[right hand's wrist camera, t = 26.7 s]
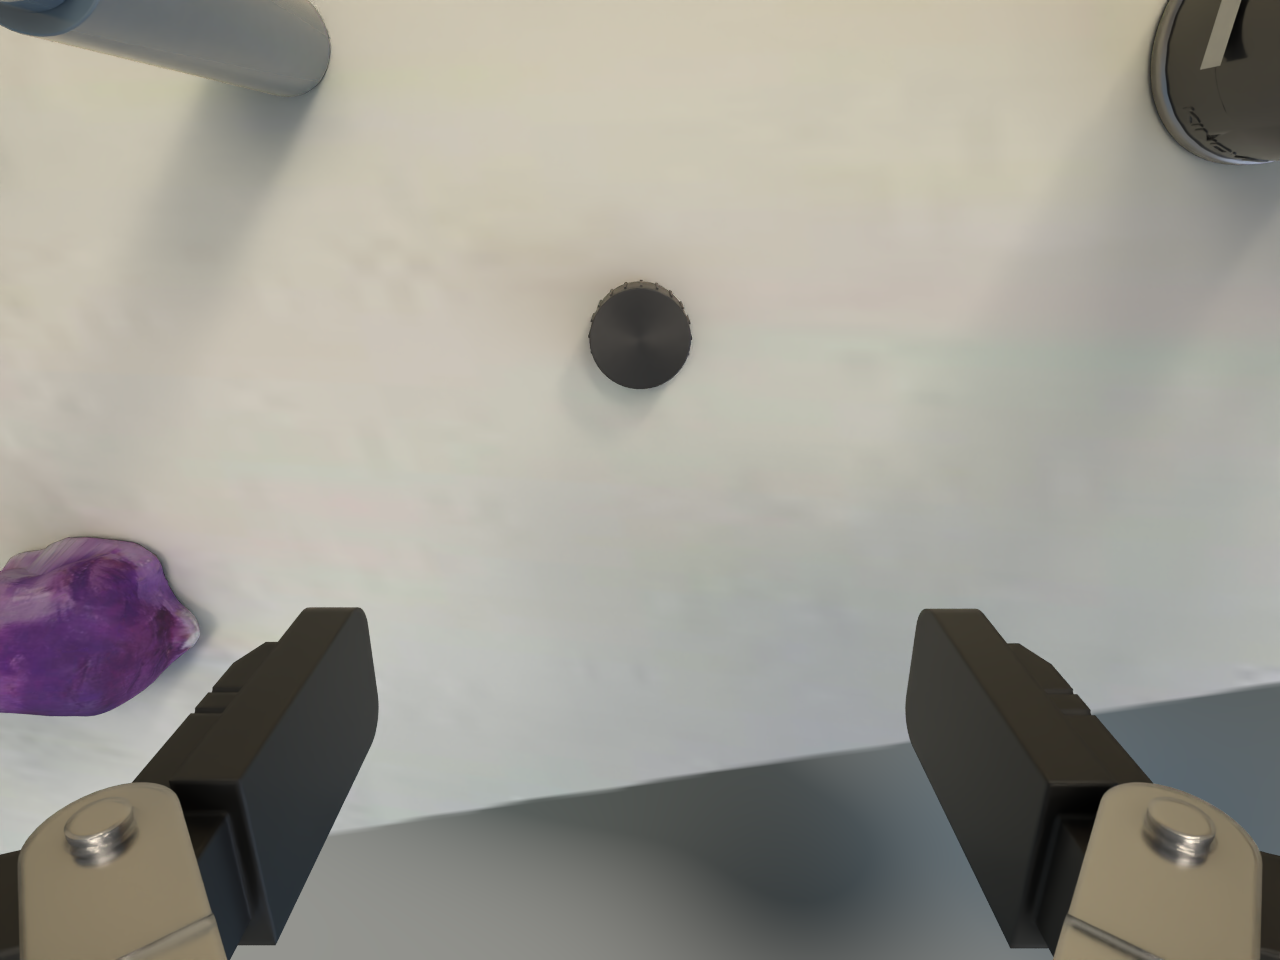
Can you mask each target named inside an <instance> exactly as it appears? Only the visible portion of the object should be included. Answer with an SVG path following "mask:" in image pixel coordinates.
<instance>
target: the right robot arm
mask: <svg viewBox="0 0 1280 960" xmlns="http://www.w3.org/2000/svg"><path fill="white" fill-rule="evenodd" d="M1151 84H1152V92H1153V97H1154V102H1155V105H1156V108H1157V111H1158V113H1159V116H1160V118H1161V120H1162V122H1163V124H1164V125H1165V127H1166V129H1167V130H1168V131H1169V133H1170V134H1171V135H1172V137H1173V138H1174V139H1175V140H1176V141H1177V142H1178V143H1179V144H1180V145H1181V146H1183V147H1184V148H1185V149H1187V150H1188V151H1189V152H1191V153H1193V154H1195V155H1196V156H1198V157H1201V158H1203V159H1205V160H1209V161H1212V162H1216V163H1222V164H1232V165H1240V164H1261V163H1268V162H1273V161H1280V0H1169V2H1168V4H1167V6H1166V8H1165V11H1164V13H1163V15H1162V17H1161V20H1160V23H1159V26H1158V29H1157V33H1156V36H1155V40H1154V45H1153V51H1152V59H1151ZM905 709H906V723H907V729H908V734H909V738H910V741H911V743H912V746H913V748H914V750H915V752H916V754H917V756H918V758H919V760H920V762H921V765H922V767H923V769H924V771H925V773H926V775H927V777H928V779H929V781H930V783H931V785H932V787H933V789H934V791H935V793H936V795H937V797H938V800H939V802H940V804H941V806H942V808H943V810H944V812H945V814H946V816H947V818H948V820H949V822H950V824H951V826H952V829H953V831H954V833H955V835H956V837H957V839H958V841H959V843H960V845H961V847H962V849H963V851H964V853H965V855H966V857H967V860H968V862H969V864H970V866H971V868H972V870H973V872H974V874H975V876H976V878H977V880H978V882H979V884H980V886H981V888H982V891H983V893H984V895H985V897H986V899H987V901H988V903H989V905H990V907H991V909H992V911H993V913H994V915H995V917H996V919H997V921H998V923H999V926H1000V928H1001V930H1002V932H1003V934H1004V936H1005V938H1006V940H1007V942H1008V944H1009V946H1010V948H1049V950H1050V951H1051V953H1052V955H1053V960H1280V856H1278V855H1273V854H1269V853H1265V852H1262V851H1259V849H1258V847H1257V845H1256V844H1255V842H1254V841H1253V839H1252V838H1251V836H1250V835H1249V834H1248V833H1247V832H1246V831H1245V830H1244V828H1242V827H1241V826H1240V825H1239V824H1238V823H1237V822H1236V821H1235V820H1233V819H1232V818H1231V817H1230V816H1228V815H1227V814H1225V813H1224V812H1223V811H1221V810H1220V809H1218V808H1216V807H1215V806H1213V805H1211V804H1210V803H1208V802H1206V801H1204V800H1202V799H1200V798H1198V797H1196V796H1193V795H1191V794H1188V793H1186V792H1184V791H1181V790H1177V789H1174V788H1171V787H1167V786H1163V785H1159V784H1153V783H1152V781H1151V780H1150V779H1149V778H1148V777H1147V775H1146V774H1145V773H1144V772H1143V771H1142V770H1141V769H1140V767H1139V766H1138V765H1137V764H1136V763H1135V761H1134V760H1133V759H1132V758H1131V757H1130V756H1129V754H1128V753H1127V752H1126V751H1125V750H1124V749H1123V747H1122V746H1121V745H1120V744H1119V743H1118V742H1117V740H1116V739H1115V738H1114V737H1113V736H1112V735H1111V733H1110V732H1109V731H1108V730H1107V729H1106V728H1105V726H1104V725H1103V724H1102V723H1101V722H1100V721H1099V719H1098V718H1097V717H1096V716H1095V715H1091V713H1090V709H1089V708H1088V706H1087V705H1086V704H1085V703H1084V702H1083V701H1082V699H1081V698H1080V697H1079V696H1078V695H1077V694H1073V689H1072V688H1071V687H1070V685H1069V684H1068V683H1067V682H1066V681H1065V680H1064V678H1063V677H1062V676H1061V675H1060V674H1059V673H1058V671H1057V670H1056V669H1055V668H1054V667H1053V666H1052V664H1050V663H1048V662H1047V661H1045V660H1044V659H1042V658H1041V657H1039V656H1038V655H1036V654H1034V653H1033V652H1031V651H1030V650H1028V649H1027V648H1025V647H1024V646H1022V645H1020V644H1019V643H1006V641H1005V640H1004V639H1003V638H1002V636H1001V635H1000V634H999V633H998V631H997V630H996V629H995V628H994V626H993V625H992V624H991V623H990V621H989V620H988V619H987V618H986V616H985V615H984V614H983V613H982V612H981V611H980V610H978V609H924V610H922V611H921V613H920V615H919V617H918V620H917V625H916V632H915V639H914V646H913V653H912V660H911V667H910V674H909V681H908V688H907V695H906V707H905ZM377 721H378V693H377V686H376V679H375V672H374V665H373V658H372V651H371V643H370V636H369V629H368V623H367V618H366V615H365V613H364V611H363V610H362V609H361V608H358V607H309V608H306V609H304V610H303V611H302V612H301V613H300V615H299V616H298V617H297V618H296V620H295V621H294V622H293V623H292V625H291V626H290V627H289V629H288V630H287V631H286V632H285V634H284V635H283V636H282V637H281V639H280V640H279V641H278V642H265V643H264V644H262V645H260V646H259V647H257V648H256V649H254V650H253V651H251V652H250V653H248V654H247V655H245V656H243V657H242V658H240V659H239V660H237V661H236V662H234V663H233V664H232V665H231V666H230V668H229V669H228V670H227V671H226V672H225V673H224V675H223V676H222V677H221V678H220V679H219V681H218V682H217V683H216V684H215V685H214V686H213V690H212V693H208V694H207V695H206V696H205V697H204V698H203V699H202V701H201V702H200V703H199V704H198V705H197V706H196V708H195V713H191V714H190V715H189V716H188V717H187V718H186V719H185V721H184V722H183V723H182V724H181V725H180V727H179V728H178V729H177V730H176V731H175V732H174V734H173V735H172V736H171V737H170V738H169V740H168V741H167V742H166V743H165V744H164V745H163V747H162V748H161V749H160V750H159V751H158V753H157V754H156V755H155V756H154V757H153V758H152V760H151V761H150V762H149V763H148V764H147V765H146V767H145V768H144V769H143V770H142V771H141V773H140V774H139V775H138V776H137V777H136V778H135V780H134V781H133V782H132V783H128V784H121V785H117V786H113V787H109V788H106V789H103V790H99V791H96V792H94V793H92V794H89V795H87V796H84V797H82V798H80V799H78V800H76V801H74V802H72V803H70V804H69V805H67V806H65V807H64V808H62V809H60V810H59V811H57V812H56V813H55V814H53V815H52V816H50V817H49V818H48V819H46V820H45V821H44V822H43V823H42V824H41V825H40V826H39V827H38V828H36V830H35V831H34V832H33V833H32V834H31V835H30V836H29V837H28V839H27V841H26V842H25V844H24V845H23V847H22V849H21V850H19V851H14V852H10V853H6V854H1V855H0V960H230V959H231V957H232V955H233V953H234V951H235V949H236V947H237V945H276V943H277V941H278V939H279V937H280V935H281V933H282V931H283V928H284V926H285V924H286V922H287V920H288V918H289V916H290V914H291V912H292V910H293V907H294V905H295V903H296V901H297V899H298V897H299V895H300V893H301V891H302V889H303V887H304V885H305V882H306V880H307V878H308V876H309V874H310V872H311V870H312V868H313V866H314V864H315V862H316V859H317V857H318V855H319V853H320V851H321V849H322V847H323V845H324V843H325V841H326V839H327V836H328V834H329V832H330V830H331V828H332V826H333V824H334V822H335V820H336V818H337V816H338V814H339V811H340V809H341V807H342V805H343V803H344V801H345V799H346V797H347V795H348V793H349V791H350V788H351V786H352V784H353V782H354V780H355V778H356V776H357V774H358V772H359V770H360V768H361V765H362V763H363V761H364V759H365V757H366V755H367V753H368V751H369V749H370V747H371V744H372V742H373V739H374V736H375V732H376V727H377Z"/></svg>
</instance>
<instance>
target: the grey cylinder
mask: <svg viewBox="0 0 1280 960" xmlns="http://www.w3.org/2000/svg"><path fill="white" fill-rule="evenodd" d="M0 25H1V26H3V27H5V28H7V29H9V30H11V31H14V32H17V33H20V34H23V35H28V36H32V37H36V38H40V39H44V40H48V41H52V42H57V43H61V44H65V45H69V46H73V47H77V48H81V49H86V50H90V51H94V52H98V53H102V54H106V55H111V56H115V57H119V58H123V59H127V60H131V61H135V62H140V63H144V64H148V65H152V66H156V67H160V68H164V69H169V70H173V71H177V72H181V73H185V74H189V75H193V76H198V77H202V78H206V79H210V80H214V81H218V82H222V83H227V84H231V85H235V86H239V87H243V88H247V89H252V90H256V91H260V92H264V93H268V94H272V95H277V96H282V97H294V96H299V95H302V94H304V93H307V92H308V91H310V90H311V89H313V88H314V87H315V86H316V85H317V84H318V83H319V82H320V81H321V79H322V77H323V76H324V74H325V72H326V69H327V66H328V63H329V57H330V43H329V37H328V33H327V30H326V27H325V24H324V22H323V20H322V18H321V16H320V14H319V13H318V11H317V10H316V9H315V7H314V6H313V5H312V4H311V3H310V2H309V1H308V0H0Z"/></svg>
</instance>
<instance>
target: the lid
mask: <svg viewBox="0 0 1280 960" xmlns="http://www.w3.org/2000/svg"><path fill="white" fill-rule="evenodd" d="M591 322H592V325H591V329H590V332H589V335H588V338H590V348H591V354H592V355H593V358H594V360H595V362H596V364H597V366H598V367H599V368H600V370H601V371H602V372H603V373H604V374H605V375H606V376H607V377H608V378H609V379H611V380H612V381H614V382H615V383H617V384H619V385H622V386H624V387H628V388H633V389H647V388H652V387H656V386H659V385H661V384H663V383H665V382H667V381H668V380H670V379H671V378H672V377H674V376H675V375H676V374H677V373H678V372H679V370H680V369H681V368H682V366H683V365H684V363H685V361H686V359H687V357H688V355H689V350H690V345H691V340H692V336H691V333H690V327H689V324H690V320H689V318H688V315H687V316H686V314H685V312H684V307H683V305H682V302H681V301H680V302H679V301H678V300H677V298H676V297H675V296H674V295H673V294H672V291H671V290H669V291H668V290H666V289H665V288H663V287H661V286H659V285H658V283H655V284H653V283H649V282H642V280H640V282H631V283H627V282H625V283H624V285H622V286H619V287H617V288H616V289H614V290H613V289H611V290H610V293H609V294H608V295H607V296H606V297H605V298H604V299H603V300H600V302H599V305H598V308H597V310H596V313H595V314H594V313H593V316H592V319H591Z"/></svg>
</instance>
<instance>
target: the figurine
mask: <svg viewBox="0 0 1280 960" xmlns="http://www.w3.org/2000/svg"><path fill="white" fill-rule="evenodd" d="M199 636H200V628H199V624H198V621H197V620H196V618H195V616H194V615H193V614H192V613H191V611H189V610H188V609H187V608H186V607H184V606H183V605H182V604H181V603H180V602H179V601H178V600H177V598H176V596H175V595H174V594H173V592H172V590H171V588H170V587H169V585H168V581H167V580H166V578H165V575H164V573H163V569H162V565H161V563H160V561H159V560H158V559H157V556H156V555H155V554H153V553H151V552H150V551H148V550H147V549H145V548H144V547H143V546H141V545H139V544H136V543H134V542H126V541H119V540H110V539H101V538H91V537H80V538H70V537H68V538H65V539H63V540H60V541H57V542H54V543H52V544H51V545H49V546H48V547H47V548H46V549H42V550H37V551H29V552H23V553H19V554H17V555H15V556H13V557H12V558H10V559H9V561H8V562H7V564H6V565H5V567H4V568H3V570H2V571H0V713H18V714H32V715H44V716H94V715H98V714H102V713H105V712H107V711H110V710H112V709H114V708H116V707H118V706H120V705H121V704H123V703H125V702H126V701H128V700H130V699H131V698H133V697H134V696H136V695H137V694H139V693H140V692H142V691H143V690H144V689H146V688H147V687H148V686H149V685H150V684H152V683H153V682H154V681H155V680H156V679H157V678H158V676H159V675H160V674H161V673H162V672H163V671H164V670H165V669H166V668H167V667H168V666H169V665H170V664H171V663H172V662H174V661H175V660H176V659H177V658H178V657H180V656H181V655H182V654H183V653H185V652H186V651H187V650H189V649H190V648H191V647H192V646H194V645H195V643H196V642H197V640H198V639H199Z"/></svg>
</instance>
